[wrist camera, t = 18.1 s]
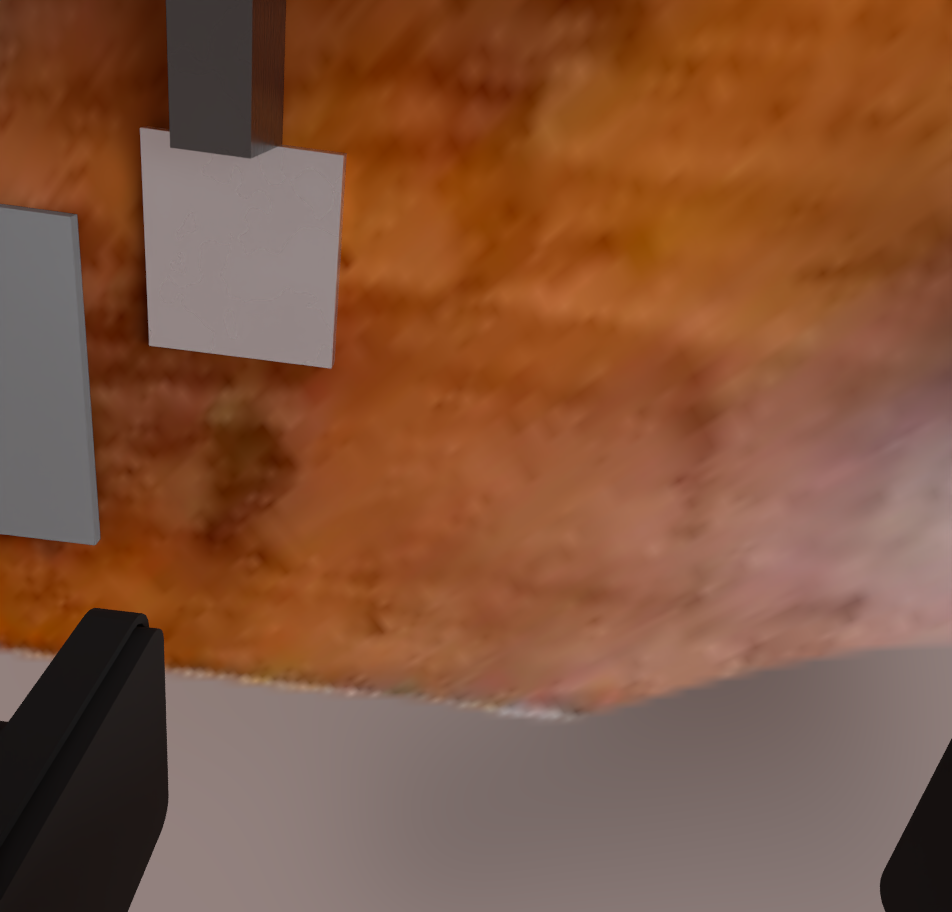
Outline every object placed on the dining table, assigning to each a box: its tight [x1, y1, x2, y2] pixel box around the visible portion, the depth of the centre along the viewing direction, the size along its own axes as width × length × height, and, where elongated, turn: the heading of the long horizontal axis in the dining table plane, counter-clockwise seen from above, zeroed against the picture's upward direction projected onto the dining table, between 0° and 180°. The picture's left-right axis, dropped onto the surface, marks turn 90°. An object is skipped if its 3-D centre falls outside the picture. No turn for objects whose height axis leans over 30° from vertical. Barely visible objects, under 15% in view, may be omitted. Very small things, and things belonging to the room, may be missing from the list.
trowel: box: [140, 0, 347, 368], centre depth 31 cm, size 19×8×5 cm, turn 173°
